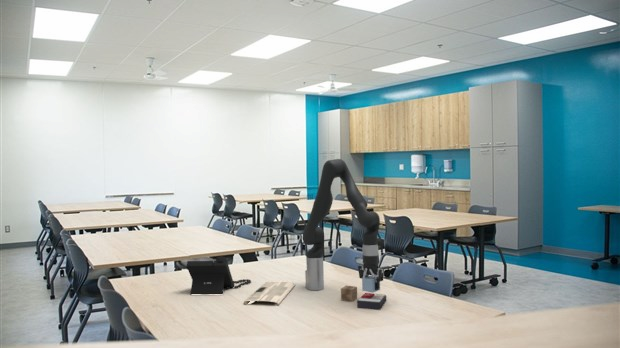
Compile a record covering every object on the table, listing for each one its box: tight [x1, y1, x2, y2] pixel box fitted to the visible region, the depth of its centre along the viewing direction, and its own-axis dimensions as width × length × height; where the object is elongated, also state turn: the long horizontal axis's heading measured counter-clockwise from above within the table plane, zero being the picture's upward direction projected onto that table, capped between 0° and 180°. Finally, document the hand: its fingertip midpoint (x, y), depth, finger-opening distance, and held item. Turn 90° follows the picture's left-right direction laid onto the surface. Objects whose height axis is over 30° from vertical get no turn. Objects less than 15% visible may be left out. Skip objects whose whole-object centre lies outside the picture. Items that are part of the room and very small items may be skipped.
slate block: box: [361, 275, 381, 294], centre depth 215 cm, size 6×6×6 cm
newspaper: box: [243, 280, 297, 307], centre depth 236 cm, size 37×19×3 cm, turn 169°
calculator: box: [356, 292, 387, 311], centre depth 216 cm, size 11×4×15 cm
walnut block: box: [340, 285, 358, 303], centre depth 224 cm, size 6×6×6 cm
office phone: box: [186, 255, 252, 295], centre depth 252 cm, size 29×28×20 cm
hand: (371, 288), depth 215 cm, fingers closed on slate block, 6 cm apart
